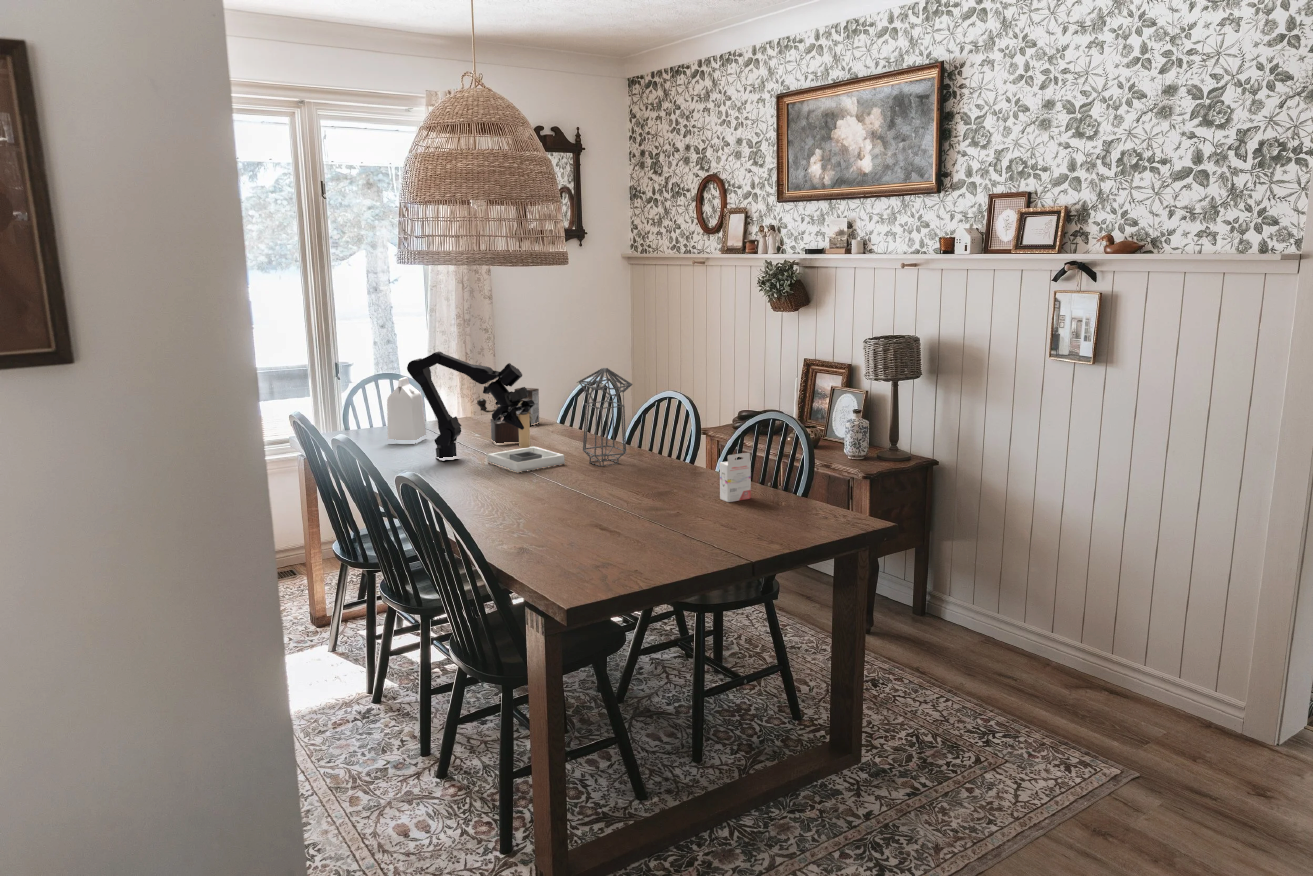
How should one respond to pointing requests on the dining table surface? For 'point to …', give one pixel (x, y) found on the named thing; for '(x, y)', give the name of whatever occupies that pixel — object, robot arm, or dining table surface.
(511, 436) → the manual coffee grinder
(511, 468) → the walled box
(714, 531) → the dining table surface
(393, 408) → the milk
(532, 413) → the coffee box
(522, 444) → the tan bottle
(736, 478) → the ink cartridge box
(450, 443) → the robot arm
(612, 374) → the geometric lantern
